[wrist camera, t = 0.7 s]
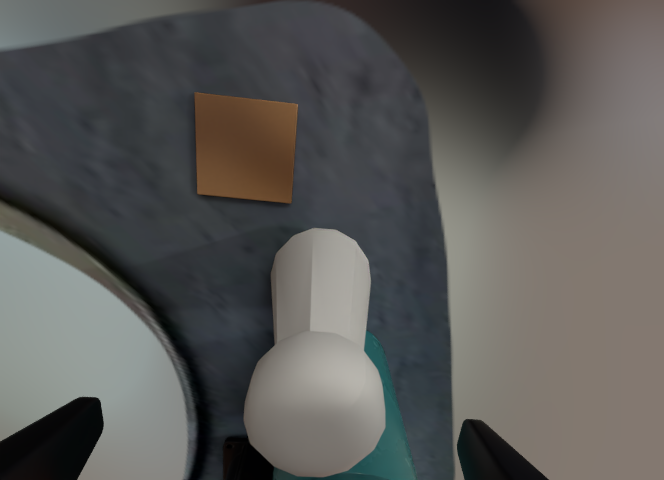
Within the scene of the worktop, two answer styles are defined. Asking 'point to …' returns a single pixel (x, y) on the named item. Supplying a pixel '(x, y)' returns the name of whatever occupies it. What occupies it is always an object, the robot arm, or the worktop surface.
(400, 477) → the tin
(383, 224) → the worktop surface
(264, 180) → the coaster
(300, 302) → the salt shaker
